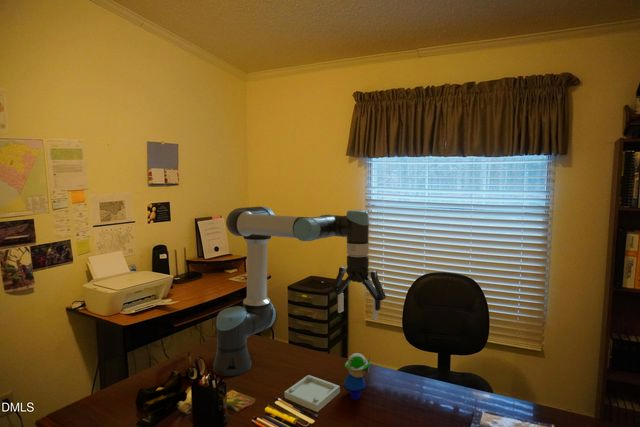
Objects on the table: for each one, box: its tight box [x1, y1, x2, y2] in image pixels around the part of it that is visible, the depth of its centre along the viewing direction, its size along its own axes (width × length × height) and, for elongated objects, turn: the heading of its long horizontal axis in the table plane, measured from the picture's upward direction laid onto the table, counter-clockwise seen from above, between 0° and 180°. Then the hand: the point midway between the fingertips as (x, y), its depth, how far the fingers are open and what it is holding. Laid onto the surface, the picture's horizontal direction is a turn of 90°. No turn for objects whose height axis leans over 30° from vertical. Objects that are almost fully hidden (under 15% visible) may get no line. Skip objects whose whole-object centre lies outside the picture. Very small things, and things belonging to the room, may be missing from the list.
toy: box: [343, 352, 372, 401], centre depth 128 cm, size 9×9×15 cm
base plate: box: [284, 374, 341, 413], centre depth 128 cm, size 14×14×3 cm
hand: (357, 315), depth 127 cm, fingers open, 13 cm apart
